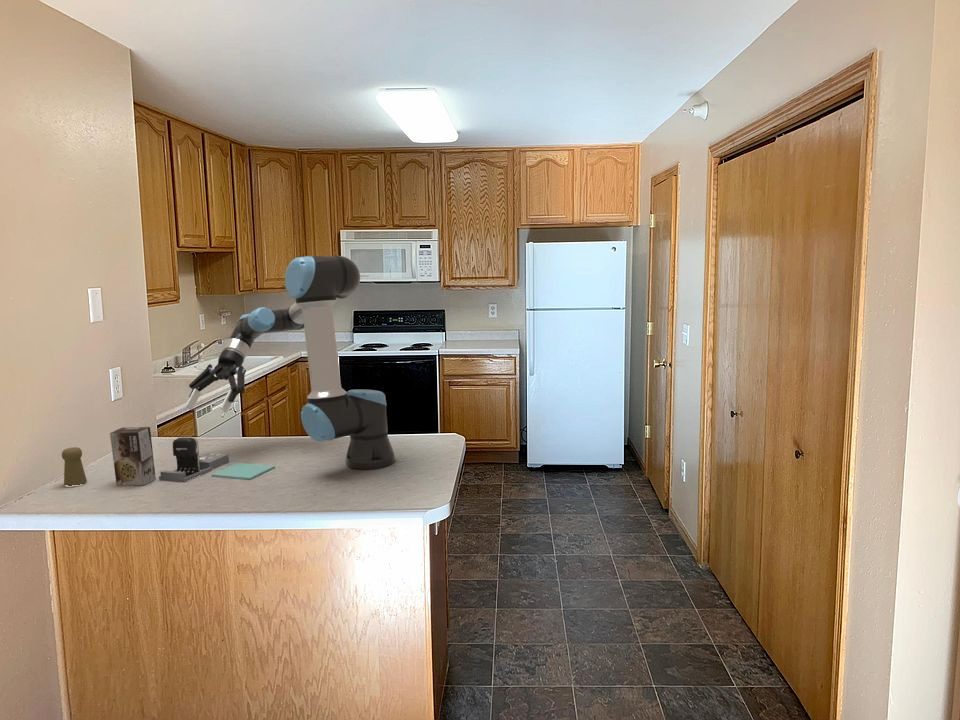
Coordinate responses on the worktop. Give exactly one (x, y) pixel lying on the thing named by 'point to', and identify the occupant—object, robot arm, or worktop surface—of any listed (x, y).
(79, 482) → the cork
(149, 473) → the coffee box
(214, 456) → the gray frame with rod
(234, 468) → the mat
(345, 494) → the worktop surface
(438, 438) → the worktop surface
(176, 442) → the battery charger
